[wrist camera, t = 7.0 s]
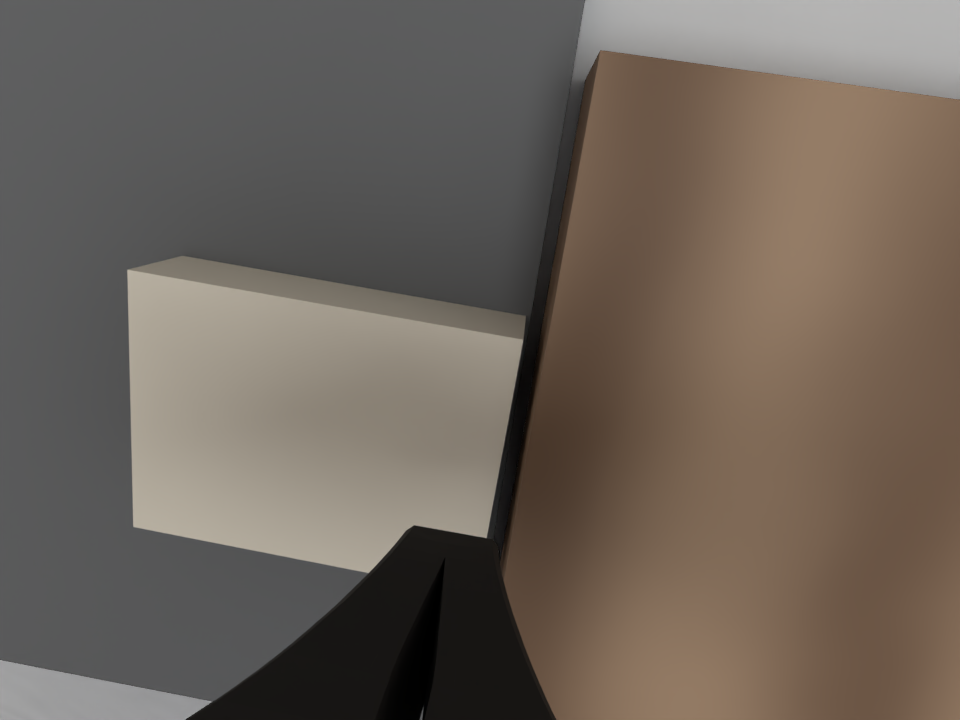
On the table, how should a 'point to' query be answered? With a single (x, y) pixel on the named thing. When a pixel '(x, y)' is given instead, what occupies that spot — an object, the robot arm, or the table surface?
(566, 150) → the table surface
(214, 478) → the ivory tile
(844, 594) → the walnut deck
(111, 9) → the rubber mat
